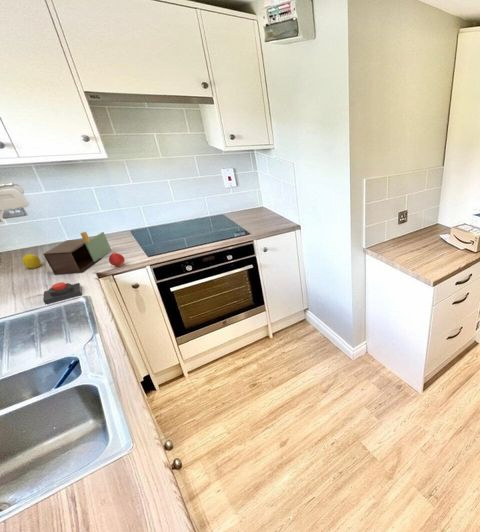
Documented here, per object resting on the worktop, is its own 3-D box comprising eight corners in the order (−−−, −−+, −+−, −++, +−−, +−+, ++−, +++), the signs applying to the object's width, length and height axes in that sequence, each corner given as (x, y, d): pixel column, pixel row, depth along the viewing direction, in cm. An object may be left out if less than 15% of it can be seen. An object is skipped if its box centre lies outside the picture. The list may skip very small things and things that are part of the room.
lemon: (31, 267, 156) (22, 252, 152) (46, 265, 158) (38, 250, 154) (25, 272, 152) (16, 257, 148) (40, 270, 153) (32, 255, 150)
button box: (45, 305, 129) (40, 296, 127) (46, 295, 135) (41, 287, 133) (82, 295, 135) (78, 287, 134) (81, 287, 141) (77, 279, 139)
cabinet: (82, 272, 152) (72, 251, 147) (54, 274, 150) (43, 253, 145) (102, 258, 166) (93, 238, 161) (76, 260, 164) (66, 240, 159)
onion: (112, 270, 155) (105, 255, 152) (111, 266, 159) (105, 251, 155) (127, 266, 159) (121, 252, 155) (126, 262, 162) (120, 248, 159)
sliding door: (96, 261, 161) (83, 233, 154) (93, 262, 161) (79, 233, 154) (113, 249, 174) (101, 222, 167) (110, 249, 174) (98, 223, 167)
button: (53, 291, 131) (51, 288, 130) (53, 288, 133) (51, 284, 133) (66, 288, 133) (65, 284, 132) (66, 284, 136) (65, 281, 135)
